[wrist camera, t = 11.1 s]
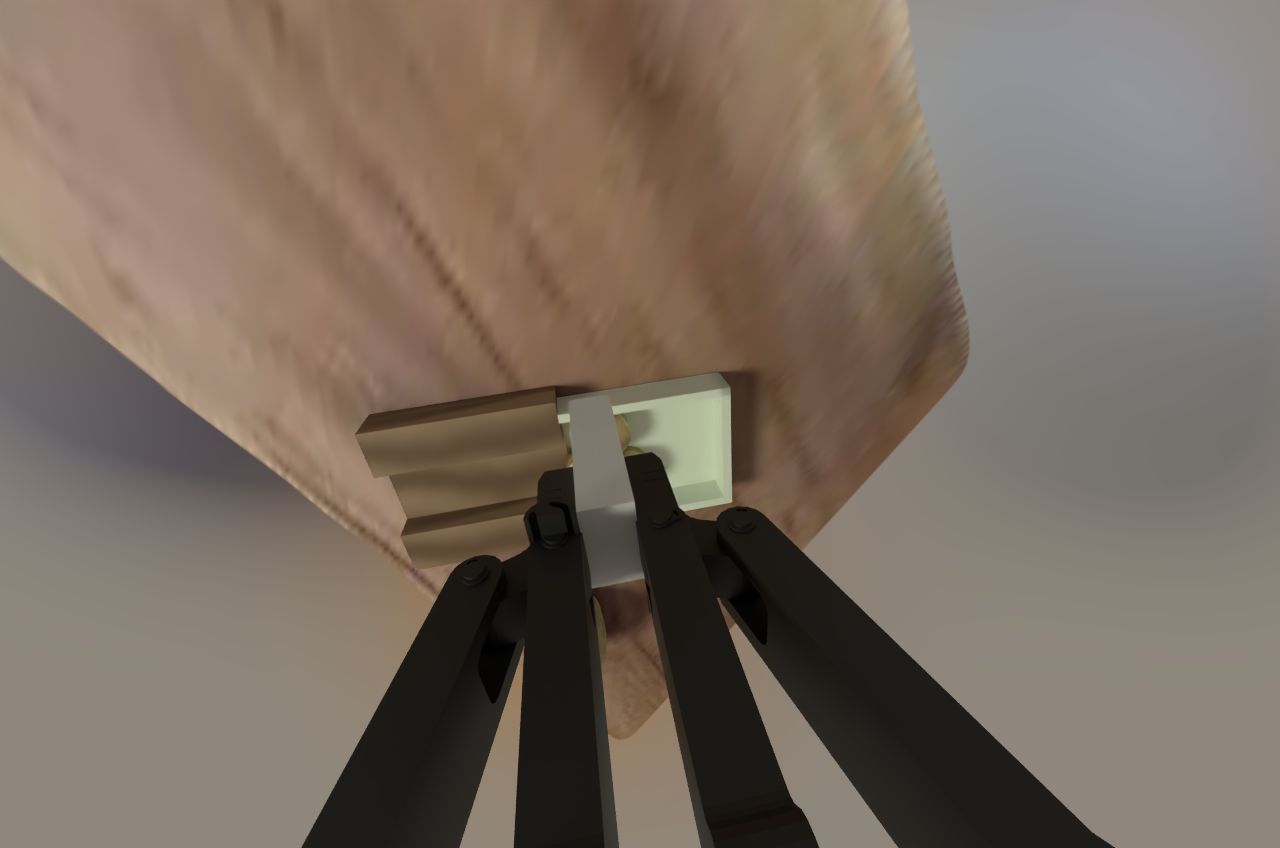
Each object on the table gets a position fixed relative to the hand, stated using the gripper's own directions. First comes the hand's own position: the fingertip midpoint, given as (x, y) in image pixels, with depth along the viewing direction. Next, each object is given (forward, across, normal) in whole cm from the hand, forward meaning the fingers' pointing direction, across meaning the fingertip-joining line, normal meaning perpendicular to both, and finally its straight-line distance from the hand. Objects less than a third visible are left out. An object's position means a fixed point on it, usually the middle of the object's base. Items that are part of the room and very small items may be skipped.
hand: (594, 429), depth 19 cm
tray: (+24, +4, -16) cm, 30 cm away
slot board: (+24, -11, -16) cm, 31 cm away
